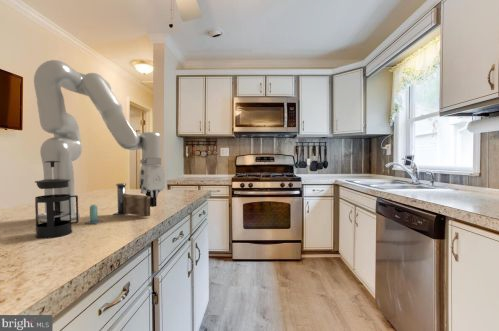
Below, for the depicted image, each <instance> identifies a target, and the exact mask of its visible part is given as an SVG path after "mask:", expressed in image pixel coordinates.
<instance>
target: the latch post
mask: <svg viewBox="0 0 499 331" xmlns="http://www.w3.org/2000/svg"><path fill="white" fill-rule="evenodd" d="M98 214H99V213H98V206H97V204H91V205H90V206H89V220H88V221H87V222H84V225H97V224H100V223H103V220H101V219H100V220H99V218H98Z"/></svg>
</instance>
